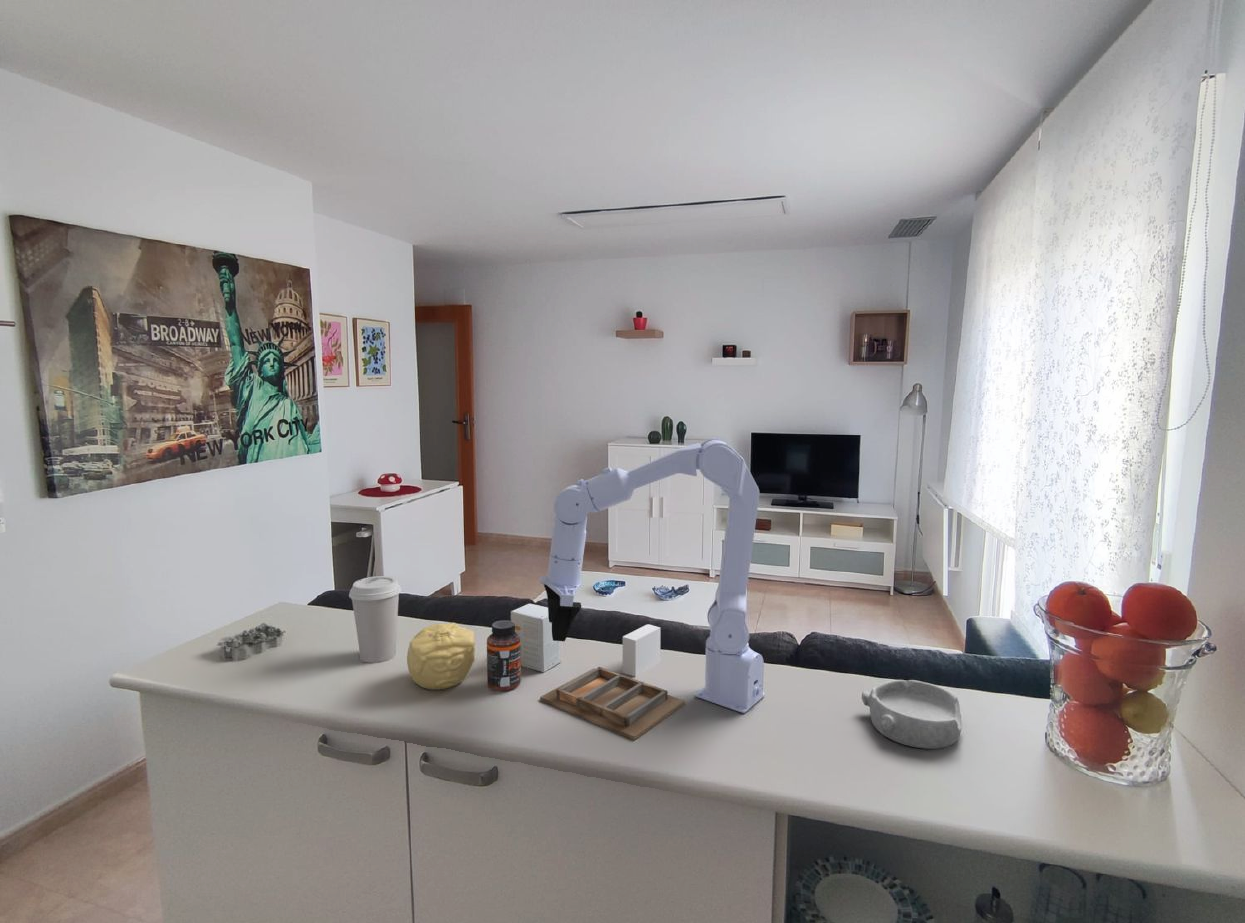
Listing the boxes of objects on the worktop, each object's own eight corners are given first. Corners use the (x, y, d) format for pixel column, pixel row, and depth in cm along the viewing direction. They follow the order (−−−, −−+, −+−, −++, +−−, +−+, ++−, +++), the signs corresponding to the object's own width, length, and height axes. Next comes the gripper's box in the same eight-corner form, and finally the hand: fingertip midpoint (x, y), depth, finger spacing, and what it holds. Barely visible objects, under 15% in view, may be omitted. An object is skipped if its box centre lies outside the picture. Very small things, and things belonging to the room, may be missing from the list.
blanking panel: (660, 662, 122) (660, 627, 121) (635, 677, 116) (635, 640, 115) (647, 658, 124) (647, 624, 123) (622, 672, 118) (622, 636, 117)
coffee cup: (385, 642, 131) (382, 572, 130) (413, 653, 126) (411, 580, 124) (342, 658, 124) (338, 583, 122) (370, 670, 118) (366, 593, 116)
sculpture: (415, 703, 106) (412, 641, 105) (402, 675, 117) (400, 618, 115) (482, 688, 112) (480, 629, 110) (464, 662, 122) (463, 608, 121)
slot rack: (684, 704, 106) (684, 692, 106) (634, 740, 95) (634, 727, 95) (593, 671, 118) (593, 660, 118) (540, 700, 107) (539, 688, 107)
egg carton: (238, 664, 121) (236, 644, 121) (214, 657, 125) (212, 637, 124) (289, 644, 131) (287, 625, 130) (266, 637, 134) (264, 619, 134)
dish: (949, 710, 104) (951, 682, 104) (978, 758, 91) (980, 726, 90) (857, 701, 107) (858, 673, 107) (871, 747, 94) (873, 715, 93)
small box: (562, 662, 122) (561, 610, 121) (543, 673, 117) (542, 618, 116) (530, 653, 126) (529, 602, 125) (511, 663, 122) (510, 610, 120)
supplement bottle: (513, 694, 109) (512, 631, 108) (481, 691, 110) (480, 628, 109) (526, 679, 115) (525, 619, 114) (495, 676, 116) (493, 616, 115)
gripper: (540, 542, 114) (531, 613, 116) (546, 566, 100) (536, 647, 102) (579, 545, 116) (569, 615, 118) (590, 570, 102) (579, 649, 104)
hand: (556, 630), depth 110 cm, fingers open, 7 cm apart
